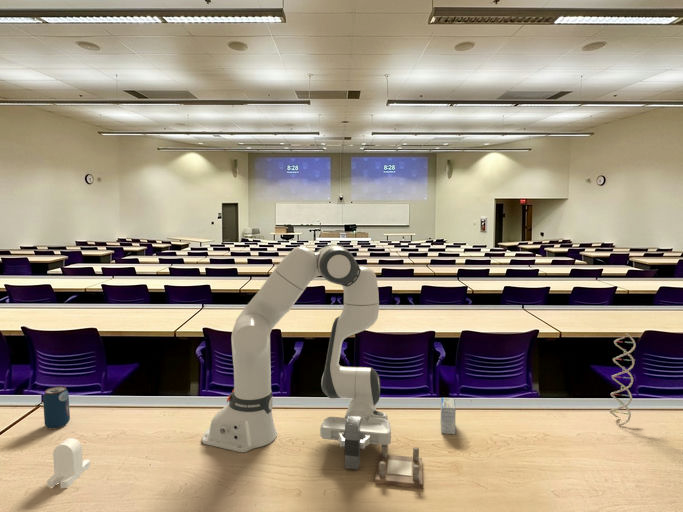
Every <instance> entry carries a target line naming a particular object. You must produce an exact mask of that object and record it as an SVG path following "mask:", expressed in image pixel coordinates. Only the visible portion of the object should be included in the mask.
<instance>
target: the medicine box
mask: <svg viewBox="0 0 683 512" xmlns="http://www.w3.org/2000/svg"><path fill="white" fill-rule="evenodd" d="M456 414H457V413H456V403H455V398H452V397H440V431H441V432H440V433H441V434H444V435H445V434H446V435H456Z"/></svg>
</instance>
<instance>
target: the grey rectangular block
mask: <svg viewBox="0 0 683 512" xmlns="http://www.w3.org/2000/svg"><path fill="white" fill-rule="evenodd" d="M360 423H361V417H358V416H348V417H347V420H346V423H345V447H344V468H345V469H353V470H359V467H360V462H361V449H360V448H359V442H360V440H361V434H360Z"/></svg>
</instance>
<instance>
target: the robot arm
mask: <svg viewBox="0 0 683 512" xmlns="http://www.w3.org/2000/svg"><path fill="white" fill-rule="evenodd" d="M320 276H321V277H323V278H324V279H325V280H326V281H327V282H330V283H333V284H336V285H340V286H342V290H343V308H342V311H341V313H340V314H339V316H337V317H336V318H334V320H333V322H332V327H331V331H330V335H329V336H330V337H329V342H328V348H327V352H326V360H325V365H324V371H323V374H322V377H321V383H320V384H321V390H322V392H323V393H324V394H325V396H326V397H328V398H329V399H341V398H342V399H343V398H344V399H350V401H349V403H348V407H347V410H346V413H345V415H344V417H341V416H328V417H326V418H325V419H323V422H322V423H321V424H320V429H319V431H320V432H319V433H320V434H319V435H320V437H321V439H322V440H332V441H338V442H339V447H340V448H341V447H342V448H345V423H346V420H347V417H348V416H358V417H361V423H360V434H361V440H360V442H359V448H360V450H365V449H366V447H367V446H369V445H370V444H372V445H381V446H382V445H388V446H389V445H391V443H392V441H391V440H392V427H391V422H390V421H389V417H388V414H387V413H385V412H382V411H379V410H377V404H378V403H379V401H380V396H381V378H380V376H379V374H378V372H377V371H376V370H375V369H374V368H373V367H367V366H365V367H363V366H342V365H340V363H339V362H340V358H341V351H342V347H343V346H342V345H343V342H344V340H346V339H347V338H348V337H350V336H352V335H355V334H359V333H361V332H364V331H366V330H369V328H371V327H373V325H374V324H375V323H376V322H377V320H378V318H379V309H380V297H379V293H380V292H379V285H378V280H377V275H376V273H375V271H374V270H372V269H371V268H369V267H367V266H359V264H358V262H357V261H356V259H355V256H354V255H353V254H352V252H350V251H349V249H347V248H346V247H344V246H343V245H339V244H328V245H327V244H326V245H325V246H323V247H320V248H318V249H315V250H314V251H313V250H311V249H310V248H307V247H304V246H296V247H294V248H293V249H292V250H291V251H289V253H287V254H286V256H285V257H283V258H282V260H281V261H280V262H279V264H277V266H276V267H275V269H274V270H273V271H272V273H271V274H270V275H269V277H268V278H267V279H266V280H265V282H264V283H263V284H262V286H261V287H260V289H259V290H258V291H257V292H256V294H255V295H254V296H253V297H252V298H251V300H250V301H249V302H248V303H247V305H246V306H245V307H244V308H243V309H242V311H241V312H240V314H239V315H238V317H237V318H236V320H235V323H234V325H233V328H232V331H231V338H230V339H231V352H232V353H231V354H232V365H233V380H234V381H233V385H234V386H233V389H232V392H230V393H229V394H228V397H227V398H226V403H228V404H226V405H225V406H224V407H222V408H221V409H220V410H219V411H217V413H216V414H215V415H214V416H213V417H212V420H211V421H210V422H211V423H210V426H209V427H208V428H207V429H206V430H205V431H204V433H203V434H202V438H201V442H202V444H204V445H208V446H212V447H216V448H221V449H226V450H229V451H234V452H237V453H246V452H249V451H250V450H253V449H256V448H260V447H264V446H266V445H269V444H271V443H272V442H273V441H274V440H275V439H276V438H277V435H278V434H277V433H278V431H277V430H276V427H275V426H276V425H275V422H274V416H273V406H274V397H273V391H272V385H271V384H272V381H271V380H272V376H271V375H272V371H271V368H272V365H271V332H272V330H273V329H274V327H276V325H277V324H278V323H279V322H280V321H281V319H283V317H284V316H285V315H286V314H287V313H289V312H290V310H291V309H292V308H293V306H294V305H296V304H295V303H297V301H298V299H299V298H300V297H301V295H302V294H303V293H304V291H305V290H306V289H307V287H308V286H309V284H310V282H312V281H313V280H314V279H315V278H317V277H320Z"/></svg>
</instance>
